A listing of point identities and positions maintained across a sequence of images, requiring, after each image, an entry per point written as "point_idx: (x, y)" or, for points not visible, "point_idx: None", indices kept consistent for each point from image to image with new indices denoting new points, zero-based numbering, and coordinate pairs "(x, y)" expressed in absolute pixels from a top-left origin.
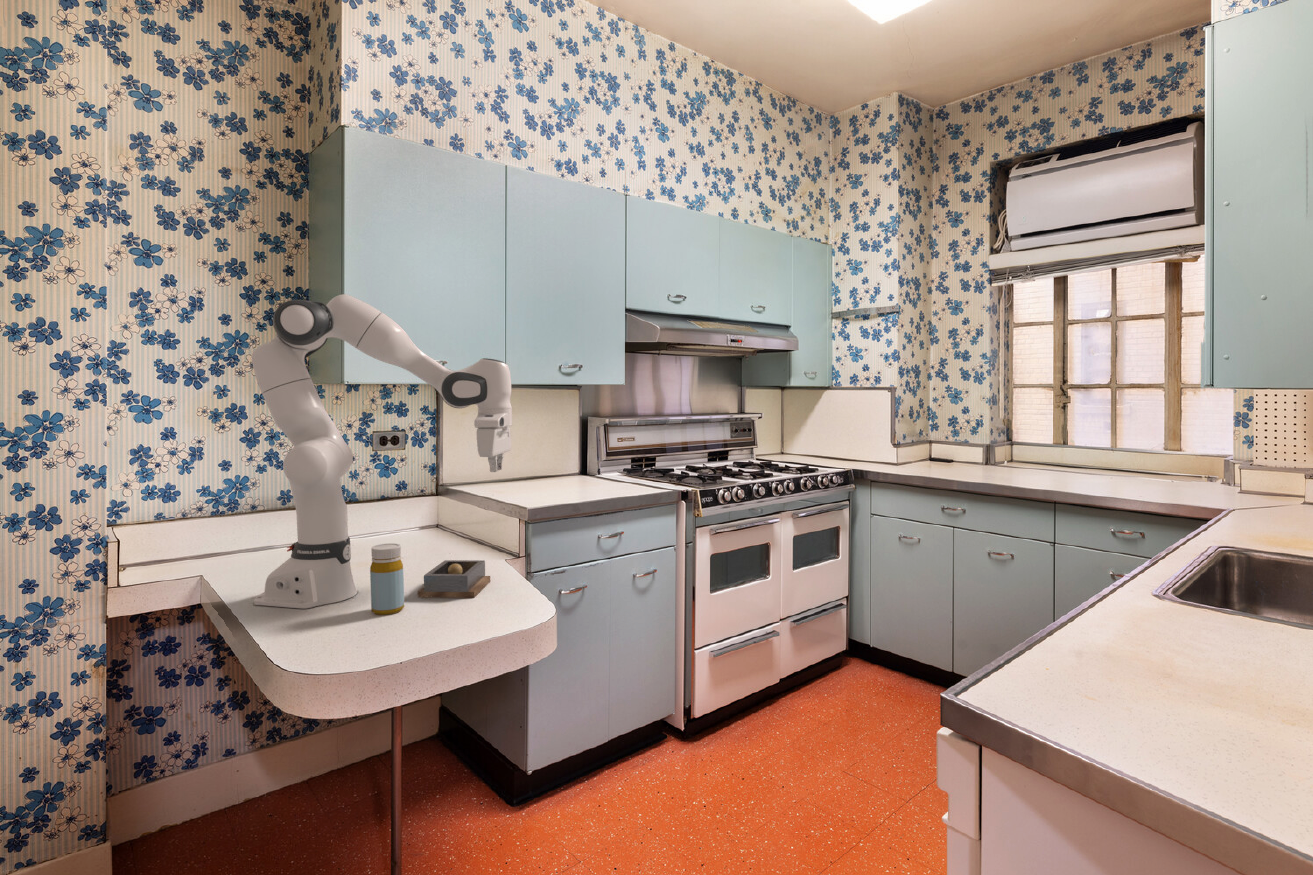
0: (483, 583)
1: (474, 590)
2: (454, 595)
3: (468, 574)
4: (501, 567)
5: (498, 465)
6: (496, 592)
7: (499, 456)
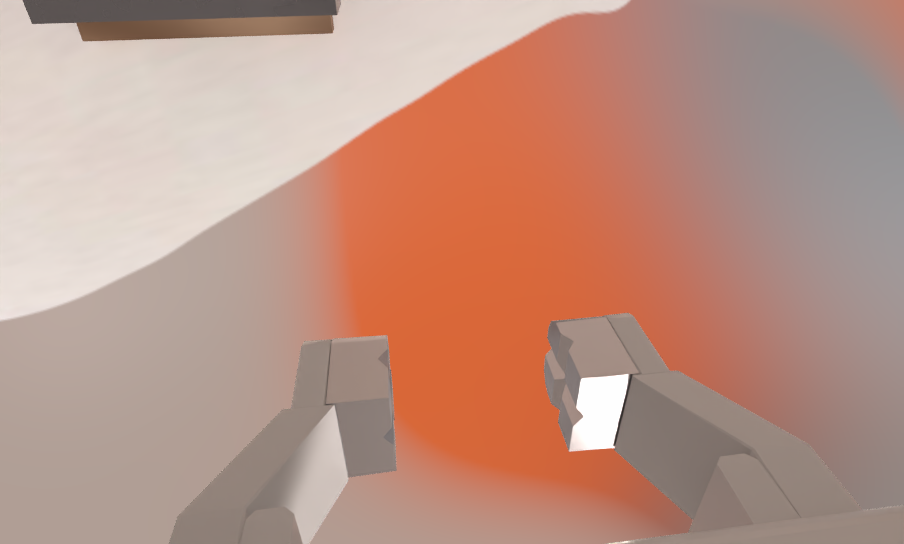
0: (224, 36)
1: (100, 35)
2: None
3: (54, 21)
4: (560, 7)
5: (567, 405)
6: (192, 104)
7: (696, 523)
